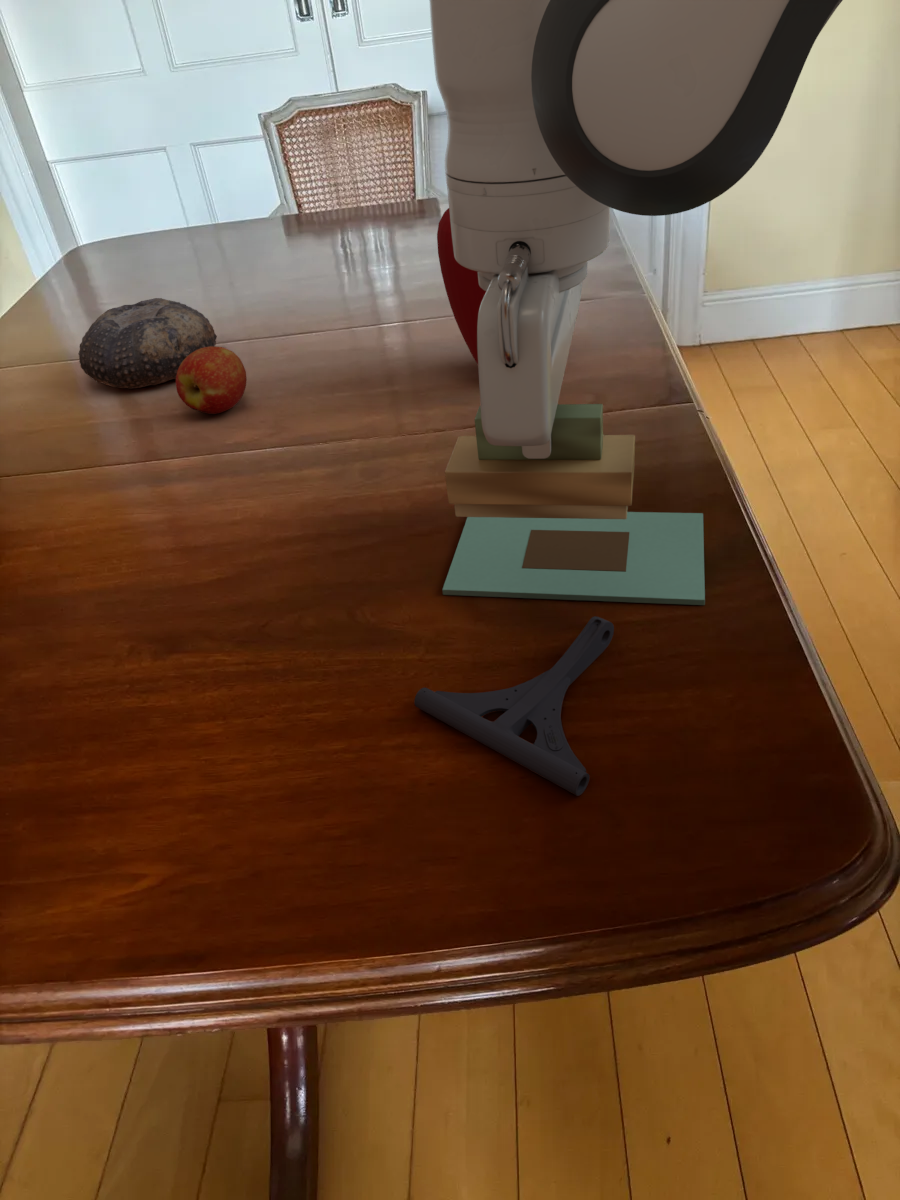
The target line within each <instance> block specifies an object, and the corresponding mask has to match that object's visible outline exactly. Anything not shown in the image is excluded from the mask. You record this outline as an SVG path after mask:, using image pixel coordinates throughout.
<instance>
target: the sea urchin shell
mask: <svg viewBox="0 0 900 1200" xmlns="http://www.w3.org/2000/svg"><path fill="white" fill-rule="evenodd" d="M217 338H218V335H217V333H216V332H215V329H214V326H213V325H212V324H211V322H210V320H209V318H207V317H206V316H205V315H204V314H203V313H202V312H200V311H199V310H198V309H194V308H193V307H191V306H189V305H187V304H186V303H181V302H180V301H175V300H169V299H166V298H162V297H155V298H150V299H145V300H141V301H138V302H136V303H134V304H123V305H121V306H117V307H112V308H109V309H107V310H105V311H104V312H103V313H102V314H101V315H99V316H98V317H97V318H96V319H95V321H93V322H92V323H91V325H90V327H89V328H88V330H87V331H86V332H85V334H84V335H83V336H82V338H81V342H80V344H79V351H78V357H79V359H78V362H79V364H80V368H81V369H82V370H83V372H84V374H86V375H87V376H88V377H89V378H90V379H92V380H94V381H95V382H96V383H98V384H99V383H101V384H103V385H106V386H110V387H113V388H117V389H129V390H131V389H140V388H146V387H148V386H157V385H159V384H164V383H166V382H169V381H172V380H176V375H177V371H178V368H179V366H180V365H181V363H182V362H183V360H184V359H185V358H186V357H187V356H188V355H190V354H191V353H192V352H194V351H196V350H198V349H200V348H204V347H210V346H213V347H216V345H217Z"/></svg>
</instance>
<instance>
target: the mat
mask: <svg viewBox="0 0 900 1200" xmlns="http://www.w3.org/2000/svg"><path fill="white" fill-rule="evenodd" d="M704 536H705V533H704V513H703V512H660V511H659V512H653V511H627V519H574V518H504V517H466V519H465V523H464V526H463V528H462V531H461V534H460V538H459V540H458V543H457V547H456V549H455V552H454V555H453V558H452V561H451V563H450V566H449V569H448V572H447V575H446V578H445V580H444V583H443V587H442V589H441V590H442V595H443V596H464V597H491V598H515V599H536V600H537V599H538V600H539V599H540V600H562V601H588V602H591V601H592V602H609V603H610V602H613V603H633V604H634V603H639V604H659V605H661V604H663V605H664V604H665V605H686V606H705V605H706V589H705V587H706V586H705V585H706V584H705V583H706V582H705V581H706V579H705V542H704V541H705V539H704V538H705V537H704Z"/></svg>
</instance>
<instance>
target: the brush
mask: <svg viewBox="0 0 900 1200" xmlns="http://www.w3.org/2000/svg"><path fill="white" fill-rule="evenodd" d="M474 428H475V435H458V437H457V440H456V442H455V445H454V446H453V450H452V453H451V455H450V457H449V460H448V462H447V465H446V467H445V470H444V479H445V485H446V486H445V487H446V493H447V503H448V505H454V513H455V518H467V517H504V518H574V519H627V512H628V509H629V507H631V506H632V504H633V495H634V494H633V492H634V479H635V463H636V462H635V459H636V458H635V457H636V456H635V453H636V435H635V434H604V405H603V403H565V404H563V403H561V404H560V403H558V405H557V409H556V414H555V418H554V423H553V427H552V437H553V444H552V449H551V454H550V456H549V457H548V458H545V459H528V458H526V457H524V455H523V453H522V446H496V445H491V444H490V443H488V441H487V439H486V437H485V435H484V432H483V428H482V420H481V406H480V405H479V406H478V409H477V412H476V414H475V418H474ZM603 434H604V435H603Z"/></svg>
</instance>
